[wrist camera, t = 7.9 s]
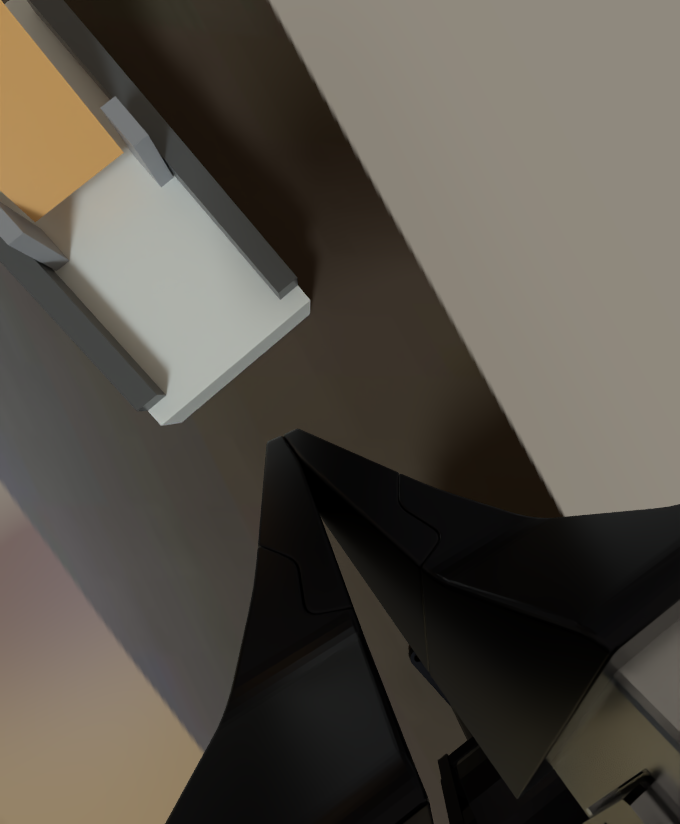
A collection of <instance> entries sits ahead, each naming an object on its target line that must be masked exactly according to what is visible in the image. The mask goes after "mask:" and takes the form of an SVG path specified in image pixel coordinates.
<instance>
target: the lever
mask: <svg viewBox="0 0 680 824" xmlns="http://www.w3.org/2000/svg"><path fill="white" fill-rule="evenodd" d="M123 153H124V152H123V151H122V150H121V148H120V147H119V146H118V145H117V143H116V142H115V141H114V140H113V138H112V137H111V136H110V135H109V134H108V132H107V131H106V130H105V129H104V127H103V126H102V125H101V124H100V122H99V121H98V120H97V119H96V117H95V116H94V115H93V114H92V112H91V111H90V110H89V109H88V107H87V106H86V105H85V104H84V102H83V101H82V100H81V99H80V98H79V96H78V95H77V94H76V93H75V91H74V90H73V89H72V88H71V86H70V85H69V84H68V83H67V81H66V80H65V79H64V78H63V76H62V75H61V74H60V73H59V71H58V70H57V69H56V68H55V66H54V65H53V64H52V63H51V62H50V60H49V59H48V58H47V57H46V55H45V54H44V53H43V52H42V50H41V49H40V48H39V47H38V45H37V44H36V43H35V42H34V40H33V39H32V38H31V37H30V35H29V34H28V33H27V32H26V31H25V29H24V28H23V27H22V26H21V24H20V23H19V22H18V21H17V19H16V18H15V17H14V16H13V14H12V13H11V12H10V11H9V9H8V8H7V7H6V6H5V4H4V3H3V2H2V1H1V0H0V191H1V192H2V193H3V194H4V195H6V196H7V197H8V198H9V199H10V200H11V201H12V202H13V203H14V204H15V205H17V206H18V207H19V208H20V209H21V210H22V211H23V212H24V213H25V214H26V215H28V216H29V217H30V218H31V219H32V220H33V221H34V222H36V221H38V220H39V219H40V218H41V217H43V216H44V215H45V214H47V213H48V212H49V211H50V210H52V209H53V208H54V207H55V206H57V205H58V204H59V203H61V202H62V201H63V200H64V199H66V198H67V197H68V196H69V195H71V194H72V193H73V192H74V191H76V190H77V189H78V188H80V187H81V186H82V185H83V184H85V183H86V182H87V181H88V180H90V179H91V178H92V177H94V176H95V175H96V174H97V173H99V172H100V171H101V170H102V169H104V168H105V167H106V166H108V165H109V164H110V163H111V162H113V161H114V160H115V159H116V158H118V157H119V156H120V155H121V154H123Z"/></svg>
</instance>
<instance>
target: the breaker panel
mask: <svg viewBox="0 0 680 824" xmlns="http://www.w3.org/2000/svg"><path fill="white" fill-rule="evenodd" d="M5 6H6V7H7V8H8V9H9V11H10V12H11V13H12V14H13V16H14V17H15V18H16V19H17V21H18V22H19V23H20V24H21V26H22V27H23V28H24V29H25V31H26V32H27V33H28V34H29V35H30V37H31V38H32V39H33V40H34V42H35V43H36V44H37V45H38V47H39V48H40V49H41V50H42V52H43V53H44V54H45V55H46V57H47V58H48V59H49V60H50V62H51V63H52V64H53V65H54V66H55V68H56V69H57V70H58V71H59V73H60V74H61V75H62V76H63V78H64V79H65V80H66V81H67V83H68V84H69V85H70V86H71V88H72V89H73V90H74V91H75V93H76V94H77V95H78V96H79V98H80V99H81V100H82V101H83V102H84V104H85V105H86V106H87V107H88V109H89V110H90V111H91V112H92V114H93V115H94V116H95V117H96V119H97V120H98V121H99V122H100V124H101V125H102V126H103V127H104V129H105V130H106V131H107V132H108V134H109V135H110V136H111V137H112V138H113V140H114V141H115V142H116V143H117V145H118V146H119V147H120V148H121V150H122V151H123V152H124V153H123V154H121V155H120V156H119V157H118V158H116V159H115V160H114V161H113V162H111V163H110V164H109V165H108V166H106V167H105V168H104V169H102V170H101V171H100V172H99V173H97V174H96V175H95V176H94V177H92V178H91V179H90V180H88V181H87V182H86V183H85V184H83V185H82V186H81V187H80V188H78V189H77V190H76V191H74V192H73V193H72V194H71V195H69V196H68V197H67V198H66V199H64V200H63V201H62V202H61V203H59V204H58V205H57V206H55V207H54V208H53V209H52V210H50V211H49V212H48V213H47V214H45V215H44V216H43V217H41V218H40V219H39V220H38V221H36V222H34V221H33V220H32V219H31V218H30V217H29V216H28V215H26V214H25V213H24V212H23V211H22V210H21V209H20V208H19V207H18V206H17V205H15V204H14V203H13V202H12V201H11V200H10V199H9V198H8V197H7V196H6V195H4V194H3V193H2V192H1V191H0V262H1V263H2V264H3V265H4V266H5V267H6V268H7V269H8V270H9V272H10V273H11V274H12V275H13V276H14V277H15V278H16V279H17V280H18V281H19V283H20V284H21V285H22V286H23V287H24V288H25V289H26V290H27V291H28V292H29V293H30V295H31V296H32V297H33V298H34V299H35V300H36V301H37V302H38V303H39V304H40V306H41V307H42V308H43V309H44V310H45V311H46V312H47V313H48V314H49V315H50V316H51V318H52V319H53V320H54V321H55V322H56V323H57V324H58V325H59V326H60V327H61V328H62V330H63V331H64V332H65V333H66V334H67V335H68V336H69V337H70V338H71V339H72V341H73V342H74V343H75V344H76V345H77V346H78V347H79V348H80V349H81V350H82V351H83V353H84V354H85V355H86V356H87V357H88V358H89V359H90V360H91V361H92V362H93V364H94V365H95V366H96V367H97V368H98V369H99V370H100V371H101V372H102V373H103V374H104V376H105V377H106V378H107V379H108V380H109V381H110V382H111V383H112V384H113V385H114V386H115V388H116V389H117V390H118V391H119V392H120V393H121V394H122V395H123V396H124V397H125V399H126V400H127V401H128V402H129V403H130V404H131V405H132V406H133V407H134V408H135V409H136V411H149V413H150V414H151V415H152V416H153V417H154V418H155V419H156V420H157V421H158V422H159V424H160V425H161V426H162V425H169V424H176V423H182V422H183V421H184V420H185V419H186V418H187V417H189V416H190V415H191V414H192V413H193V412H195V411H196V410H197V409H198V408H199V407H200V406H202V405H203V404H204V403H205V402H206V401H208V400H209V399H210V398H211V397H212V396H214V395H215V394H216V393H217V392H218V391H219V390H221V389H222V388H223V387H224V386H225V385H227V384H228V383H229V382H230V381H231V380H232V379H234V378H235V377H236V376H237V375H238V374H240V373H241V372H242V371H243V370H244V369H245V368H247V367H248V366H249V365H250V364H251V363H253V362H254V361H255V360H256V359H257V358H259V357H260V356H261V355H262V354H263V353H264V352H266V351H267V350H268V349H269V348H270V347H272V346H273V345H274V344H275V343H276V342H277V341H279V340H280V339H281V338H282V337H283V336H285V335H286V334H287V333H288V332H289V331H290V330H292V329H293V328H294V327H295V326H296V325H298V324H299V323H300V322H301V321H302V320H303V319H305V318H306V317H307V316H308V315H309V314H310V299H309V298H308V297H307V296H306V294H305V293H304V292H303V291H302V290H301V288H300V287H299V286H298V282H297V277H296V276H295V274H294V273H293V272H292V271H291V270H290V268H289V267H288V266H287V265H286V264H285V262H284V261H283V260H282V259H281V258H280V257H279V255H278V254H277V253H276V252H275V251H274V249H273V248H272V247H271V246H270V245H269V243H268V242H267V241H266V240H265V239H264V238H263V236H262V235H261V234H260V233H259V232H258V230H257V229H256V228H255V227H254V226H253V224H252V223H251V222H250V221H249V220H248V219H247V217H246V216H245V215H244V214H243V213H242V211H241V210H240V209H239V208H238V207H237V205H236V204H235V203H234V202H233V201H232V200H231V198H230V197H229V196H228V195H227V194H226V192H225V191H224V190H223V189H222V188H221V186H220V185H219V184H218V183H217V182H216V181H215V179H214V178H213V177H212V176H211V175H210V173H209V172H208V171H207V170H206V169H205V167H204V166H203V165H202V164H201V163H200V162H199V160H198V159H197V158H196V157H195V156H194V154H193V153H192V152H191V151H190V150H189V148H188V147H187V146H186V145H185V144H184V143H183V141H182V140H181V139H180V138H179V137H178V135H177V134H176V133H175V132H174V131H173V130H172V128H171V127H170V126H169V125H168V124H167V122H166V121H165V120H164V119H163V118H162V116H161V115H160V114H159V113H158V112H157V111H156V109H155V108H154V107H153V106H152V105H151V103H150V102H149V101H148V100H147V99H146V97H145V96H144V95H143V94H142V93H141V92H140V90H139V89H138V88H137V87H136V86H135V84H134V83H133V82H132V81H131V80H130V78H129V77H128V76H127V75H126V74H125V73H124V71H123V70H122V69H121V68H120V67H119V65H118V64H117V63H116V62H115V61H114V59H113V58H112V57H111V56H110V55H109V54H108V52H107V51H106V50H105V49H104V48H103V46H102V45H101V44H100V43H99V42H98V40H97V39H96V38H95V37H94V36H93V35H92V33H91V32H90V31H89V30H88V29H87V27H86V26H85V25H84V24H83V23H82V21H81V20H80V19H79V18H78V17H77V16H76V14H75V13H74V12H73V11H72V10H71V8H70V7H69V6H68V5H67V4H66V2H65V1H64V0H9V1H8V2H7V3H5Z"/></svg>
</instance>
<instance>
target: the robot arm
mask: <svg viewBox="0 0 680 824" xmlns="http://www.w3.org/2000/svg"><path fill="white" fill-rule="evenodd" d="M320 516H321V517H320ZM321 518H322V519H323V521H324V522H325V524H326V525H327V527H328V528H329V530H330V531H331V533H332V534H333V535H334V537H335V538H336V540H337V541H338V543H339V544H340V545H341V547H342V548H343V550H344V551H345V553H346V554H347V556H348V557H349V558H350V560H351V561H352V563H353V564H354V566H355V567H356V569H357V570H358V571H359V573H360V574H361V576H362V577H363V579H364V580H365V581H366V583H367V584H368V586H369V587H370V589H371V590H372V592H373V593H374V594H375V596H376V597H377V599H378V600H379V602H380V603H381V604H382V606H383V607H384V609H385V610H386V612H387V613H388V615H389V616H390V617H391V619H392V620H393V622H394V623H395V625H396V626H397V628H398V629H399V630H400V632H401V633H402V635H403V636H404V638H405V639H406V640H407V642H408V643H409V645H410V646H411V649H410V650H409V658H410V660H411V662H412V664H413V665H414V666H415V667H416V668H417V669H418V670H419V672H420V673H421V674H422V675H423V676H424V677H425V678H426V679H427V680H428V682H429V683H430V684H431V685H432V686H433V687H434V688H435V689H436V690H437V692H438V693H439V694H440V695H441V696H442V697H443V698H444V699H445V700H446V702H447V703H448V704H449V705H450V706H451V707H452V709H453V711H454V713H455V715H456V718H457V720H458V722H459V724H460V726H461V728H462V730H463V732H464V734H465V736H466V739H467V741H466V742H465V743H464V744H462V745H461V746H460V747H459V748H457V749H456V750H455V751H454V752H452V753H451V754H450V755H449V756H448V754H445V755H444V756H443V757H442V758H440V759H439V760H438V764H439V769H440V774H441V785H442V790H443V795H444V799H445V804H446V809H447V813H448V818H449V823H450V824H680V504H679V505H674V506H670V507H663V508H655V509H646V510H634V511H623V512H612V513H602V514H592V515H580V516H570V517H558V518H535V517H528V516H523V515H519V514H515V513H511V512H508V511H505V510H502V509H499V508H495V507H492V506H489V505H486V504H483V503H480V502H477V501H473V500H470V499H467V498H464V497H461V496H458V495H455V494H452V493H449V492H446V491H443V490H440V489H437V488H434V487H432V486H429V485H427V484H424V483H422V482H419V481H417V480H414V479H412V478H410V477H408V476H405V475H403V474H400V475H399V473H398V472H396V471H394V470H391V469H389V468H387V467H385V466H382V465H380V464H378V463H375V462H373V461H371V460H369V459H366V458H364V457H362V456H359V455H357V454H355V453H353V452H350V451H348V450H346V449H344V448H341V447H339V446H337V445H334V444H332V443H330V442H328V441H325V440H323V439H321V438H319V437H316V436H314V435H312V434H309V433H307V432H305V431H303V430H300V429H295V430H293V431H290V432H288V433H286V434H284V437H282V436H279V437H277V438H275V439H272V440H270V441H268V442H267V446H266V458H265V469H264V481H263V493H262V505H261V517H260V528H259V540H258V547H259V548H258V550H257V562H256V570H255V578H254V586H253V592H252V597H251V602H250V607H249V612H248V617H247V621H246V626H245V630H244V635H243V639H242V644H241V648H240V653H239V657H238V662H237V666H236V671H235V675H234V680H233V684H232V688H231V692H230V695H229V699H228V702H227V705H226V708H225V711H224V714H223V717H222V719H221V721H220V723H219V726H218V728H217V730H216V732H215V734H214V736H213V738H212V739H211V741H210V743H209V745H208V747H207V749H206V750H205V752H204V754H203V756H202V758H201V759H200V761H199V763H198V765H197V767H196V769H195V770H194V772H193V774H192V776H191V778H190V779H189V781H188V783H187V785H186V787H185V789H184V790H183V792H182V794H181V796H180V798H179V799H178V801H177V803H176V805H175V807H174V808H173V811H172V812H171V814H170V816H169V818H168V819H167V821H166V823H165V824H434V823H433V818H432V813H431V808H430V803H429V799H428V796H427V794H426V791H425V789H424V787H423V784H422V782H421V779H420V777H419V774H418V772H417V769H416V767H415V764H414V762H413V759H412V757H411V754H410V752H409V749H408V747H407V744H406V742H405V739H404V736H403V734H402V731H401V729H400V726H399V724H398V721H397V719H396V716H395V714H394V711H393V708H392V706H391V703H390V701H389V698H388V696H387V693H386V691H385V688H384V685H383V683H382V680H381V678H380V675H379V673H378V670H377V668H376V665H375V663H374V660H373V657H372V655H371V652H370V650H369V647H368V645H367V642H366V639H365V637H364V634H363V631H362V629H361V626H360V623H359V621H358V618H357V615H356V613H355V610H354V607H353V604H352V602H351V599H350V596H349V593H348V591H347V588H346V585H345V582H344V580H343V577H342V574H341V571H340V569H339V566H338V563H337V561H336V558H335V555H334V552H333V550H332V547H331V544H330V541H329V539H328V536H327V533H326V530H325V528H324V525H323V522H322V519H321ZM415 655H417V656H418V657H415Z"/></svg>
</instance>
